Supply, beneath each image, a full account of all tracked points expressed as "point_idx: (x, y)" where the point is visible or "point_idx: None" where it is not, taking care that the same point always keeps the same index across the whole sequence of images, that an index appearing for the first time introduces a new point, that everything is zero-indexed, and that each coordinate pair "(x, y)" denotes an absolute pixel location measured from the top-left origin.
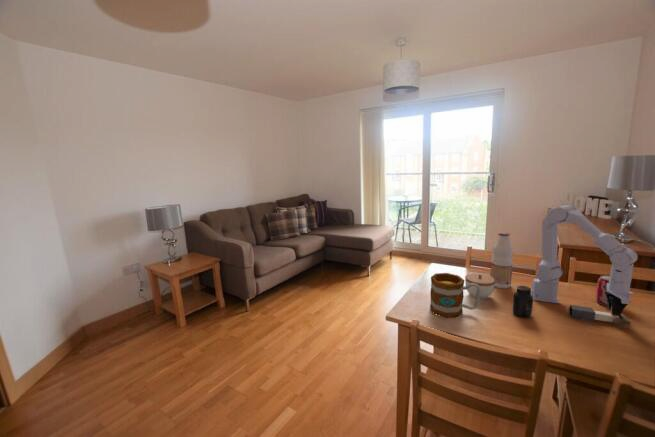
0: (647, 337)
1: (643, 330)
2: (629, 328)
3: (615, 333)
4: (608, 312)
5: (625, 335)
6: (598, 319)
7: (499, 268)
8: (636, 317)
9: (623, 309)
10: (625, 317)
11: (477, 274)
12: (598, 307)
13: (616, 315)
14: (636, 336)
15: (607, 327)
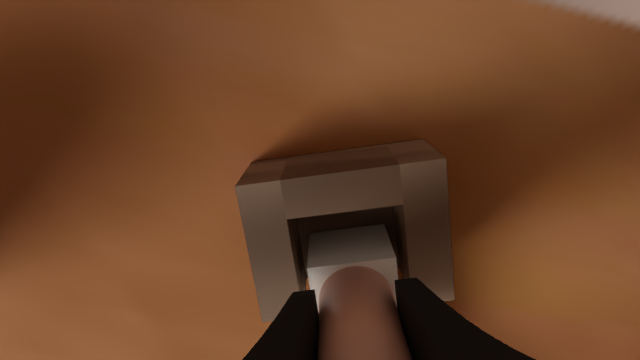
0: (555, 21)
1: (394, 18)
2: (424, 141)
3: (584, 268)
4: (264, 317)
5: (592, 201)
6: None
7: None
8: (59, 5)
9: (464, 318)
10: (335, 187)
11: None
12: (30, 305)
13: (390, 291)
14: (574, 115)
15: (483, 306)
